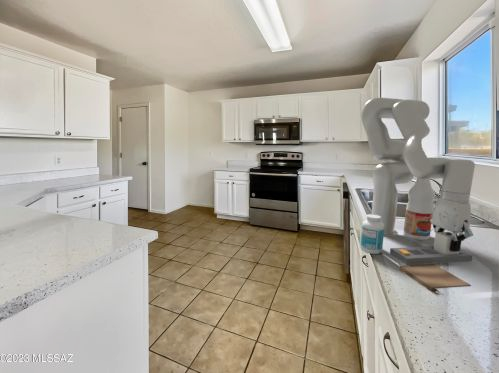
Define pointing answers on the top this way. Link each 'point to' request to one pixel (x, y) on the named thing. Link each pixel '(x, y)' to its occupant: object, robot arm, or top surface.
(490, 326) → the top surface
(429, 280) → the walnut mat
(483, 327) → the top surface
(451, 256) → the power strip
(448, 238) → the block
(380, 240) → the pill bottle
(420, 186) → the fruit juice
